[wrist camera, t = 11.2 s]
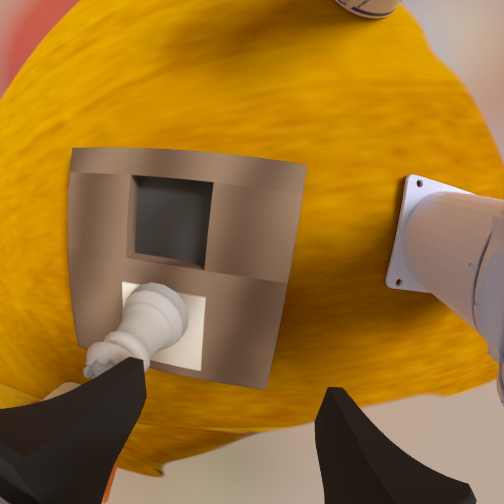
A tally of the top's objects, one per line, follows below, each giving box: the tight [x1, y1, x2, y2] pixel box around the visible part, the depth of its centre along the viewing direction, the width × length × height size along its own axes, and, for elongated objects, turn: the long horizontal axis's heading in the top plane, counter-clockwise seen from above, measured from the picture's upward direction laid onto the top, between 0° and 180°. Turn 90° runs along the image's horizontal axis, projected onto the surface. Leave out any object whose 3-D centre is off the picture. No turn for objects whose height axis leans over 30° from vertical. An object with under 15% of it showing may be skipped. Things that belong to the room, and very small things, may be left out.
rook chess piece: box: [83, 282, 189, 379], centre depth 15 cm, size 4×4×8 cm
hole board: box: [68, 148, 307, 389], centre depth 19 cm, size 16×16×2 cm
